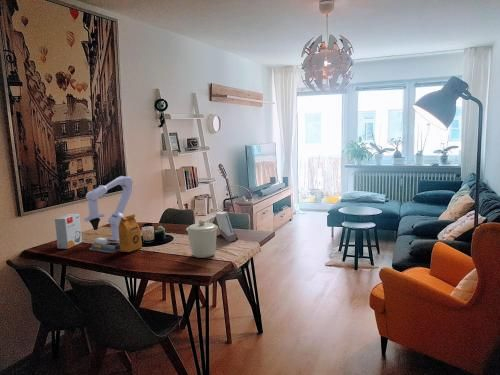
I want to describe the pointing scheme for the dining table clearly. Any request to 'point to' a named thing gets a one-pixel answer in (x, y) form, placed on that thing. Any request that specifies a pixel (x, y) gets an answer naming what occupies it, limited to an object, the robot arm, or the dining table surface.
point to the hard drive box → (68, 231)
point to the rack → (106, 247)
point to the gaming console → (225, 226)
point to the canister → (202, 239)
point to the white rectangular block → (101, 240)
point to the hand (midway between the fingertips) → (95, 229)
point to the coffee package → (129, 234)
